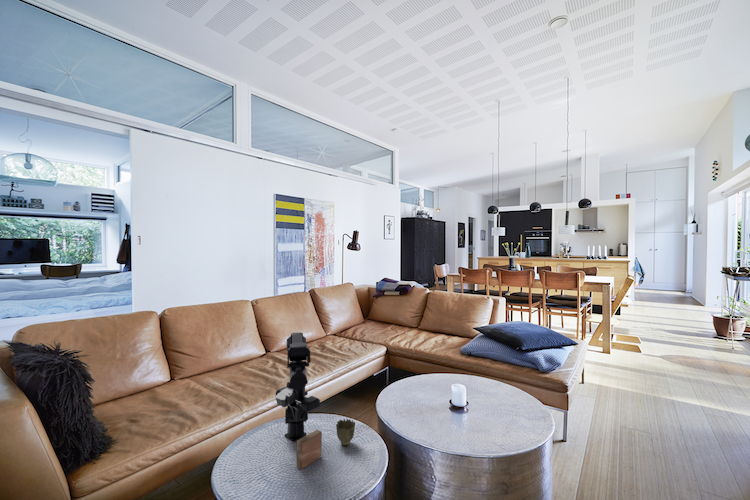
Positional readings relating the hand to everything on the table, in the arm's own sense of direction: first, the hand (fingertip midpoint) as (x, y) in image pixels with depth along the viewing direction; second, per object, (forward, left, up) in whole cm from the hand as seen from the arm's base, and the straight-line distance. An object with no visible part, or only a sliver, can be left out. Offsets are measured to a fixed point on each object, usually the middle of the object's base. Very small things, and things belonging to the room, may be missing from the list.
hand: (296, 421), depth 122 cm
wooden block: (+7, 0, -12) cm, 14 cm away
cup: (+10, +16, -12) cm, 22 cm away
